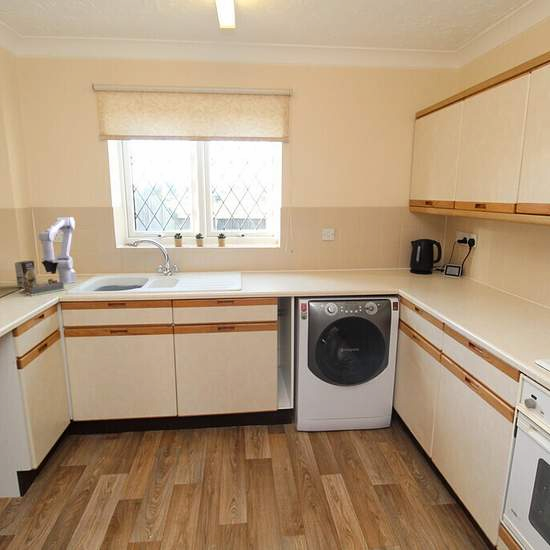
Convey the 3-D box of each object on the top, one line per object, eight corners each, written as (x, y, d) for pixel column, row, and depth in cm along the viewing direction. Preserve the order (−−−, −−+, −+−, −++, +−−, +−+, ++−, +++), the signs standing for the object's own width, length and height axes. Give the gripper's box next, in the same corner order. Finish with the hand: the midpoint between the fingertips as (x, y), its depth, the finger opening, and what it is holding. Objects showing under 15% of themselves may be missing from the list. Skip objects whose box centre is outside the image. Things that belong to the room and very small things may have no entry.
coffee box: (26, 288, 251) (22, 263, 248) (17, 287, 253) (13, 262, 249) (37, 285, 260) (34, 260, 257) (28, 284, 261) (25, 260, 258)
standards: (54, 286, 257) (53, 278, 256) (59, 287, 251) (58, 280, 250) (22, 291, 243) (21, 283, 242) (28, 293, 238) (26, 285, 237)
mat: (61, 287, 252) (61, 286, 251) (67, 289, 246) (67, 288, 246) (26, 294, 237) (26, 293, 236) (31, 296, 231) (31, 295, 231)
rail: (61, 287, 249) (60, 282, 248) (63, 288, 247) (63, 283, 246) (29, 293, 236) (28, 287, 235) (32, 294, 233) (31, 288, 233)
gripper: (36, 251, 247) (39, 272, 250) (46, 253, 238) (49, 275, 241) (48, 249, 252) (51, 270, 255) (58, 251, 243) (61, 273, 246)
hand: (51, 272), depth 248 cm, fingers open, 7 cm apart
